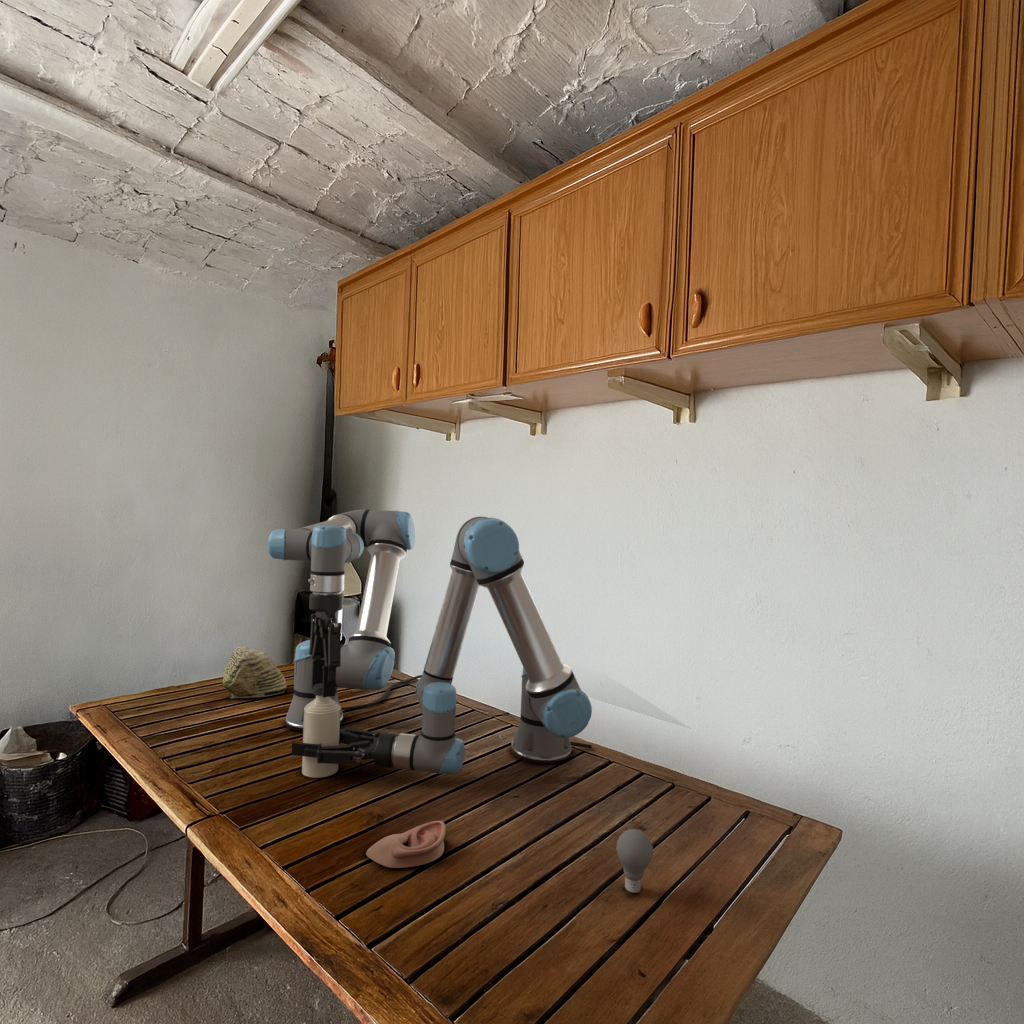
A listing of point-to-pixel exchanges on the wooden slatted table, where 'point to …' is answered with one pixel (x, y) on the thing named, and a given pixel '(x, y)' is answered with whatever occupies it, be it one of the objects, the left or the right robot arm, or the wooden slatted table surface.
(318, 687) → the cap
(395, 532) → the left robot arm
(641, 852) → the light bulb
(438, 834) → the anatomical model
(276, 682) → the fossil
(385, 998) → the wooden slatted table surface
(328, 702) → the bottle
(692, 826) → the wooden slatted table surface
